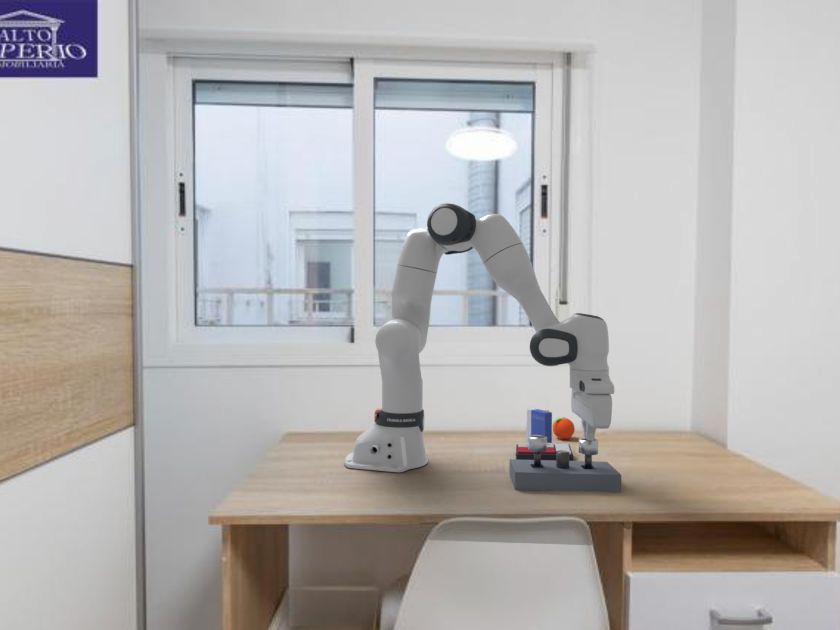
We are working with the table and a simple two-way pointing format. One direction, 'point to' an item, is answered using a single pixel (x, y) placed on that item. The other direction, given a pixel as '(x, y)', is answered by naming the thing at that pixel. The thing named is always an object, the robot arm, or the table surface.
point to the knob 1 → (537, 447)
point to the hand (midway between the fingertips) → (588, 439)
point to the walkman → (539, 423)
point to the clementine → (563, 428)
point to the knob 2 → (588, 450)
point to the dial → (562, 459)
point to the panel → (564, 476)
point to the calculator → (550, 454)
